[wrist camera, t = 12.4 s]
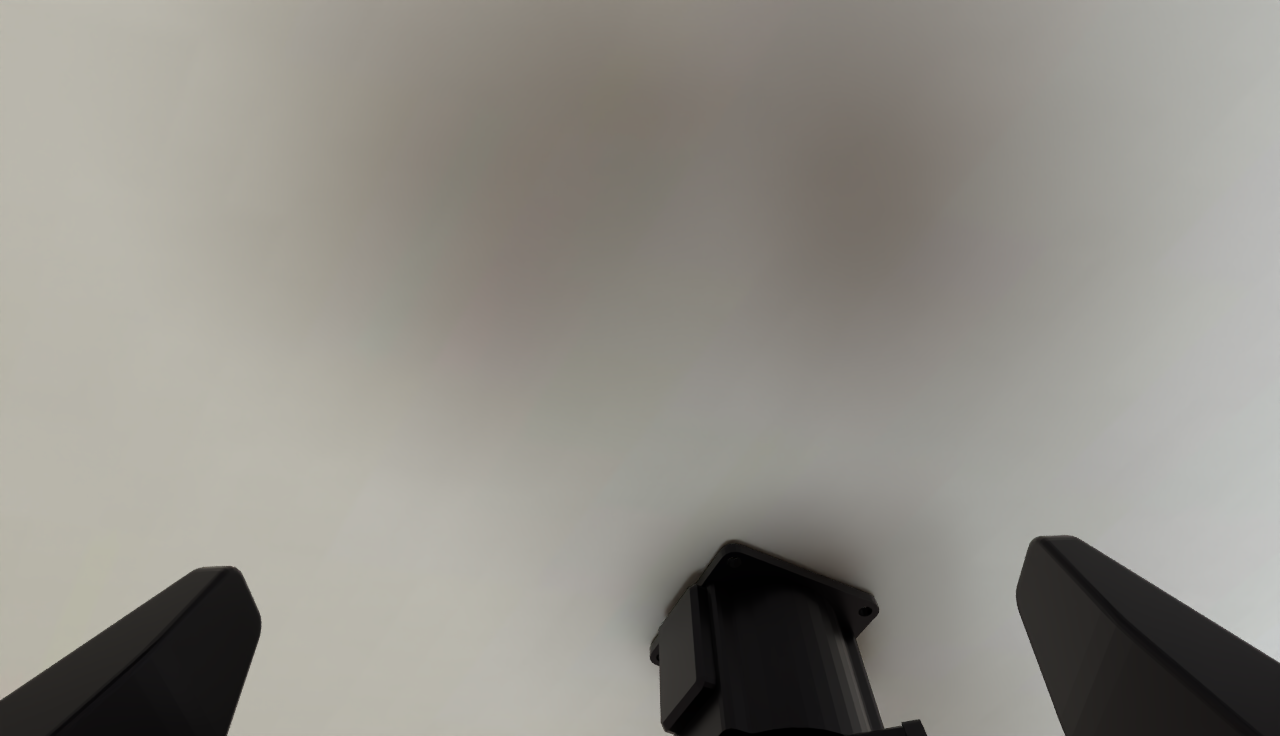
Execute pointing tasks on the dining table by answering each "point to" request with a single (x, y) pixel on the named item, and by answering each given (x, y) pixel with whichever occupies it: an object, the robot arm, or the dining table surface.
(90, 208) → the dining table surface
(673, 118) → the dining table surface
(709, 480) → the dining table surface
